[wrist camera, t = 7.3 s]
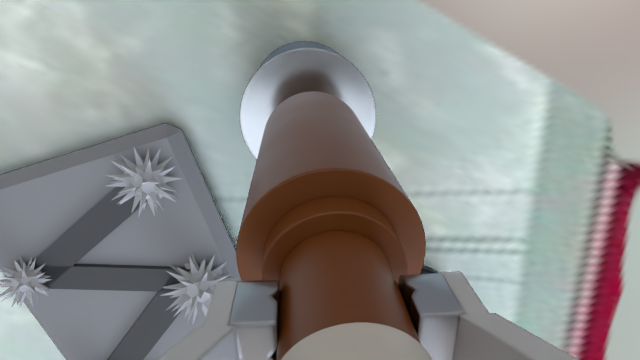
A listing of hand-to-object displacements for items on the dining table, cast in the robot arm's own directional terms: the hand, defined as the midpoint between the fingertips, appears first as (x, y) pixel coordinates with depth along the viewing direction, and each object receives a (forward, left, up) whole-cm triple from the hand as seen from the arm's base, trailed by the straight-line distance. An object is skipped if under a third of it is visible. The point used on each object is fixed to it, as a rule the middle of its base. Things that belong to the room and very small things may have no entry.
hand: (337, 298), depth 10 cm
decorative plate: (+17, +19, -28) cm, 38 cm away
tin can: (0, 0, -28) cm, 28 cm away
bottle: (0, 0, -14) cm, 14 cm away
